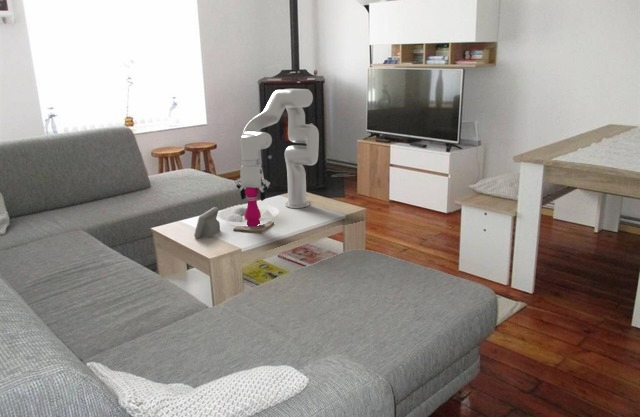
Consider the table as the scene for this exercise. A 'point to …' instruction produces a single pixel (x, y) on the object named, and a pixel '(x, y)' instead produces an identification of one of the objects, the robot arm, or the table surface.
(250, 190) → the pepper mill
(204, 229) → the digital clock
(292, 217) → the table surface
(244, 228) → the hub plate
